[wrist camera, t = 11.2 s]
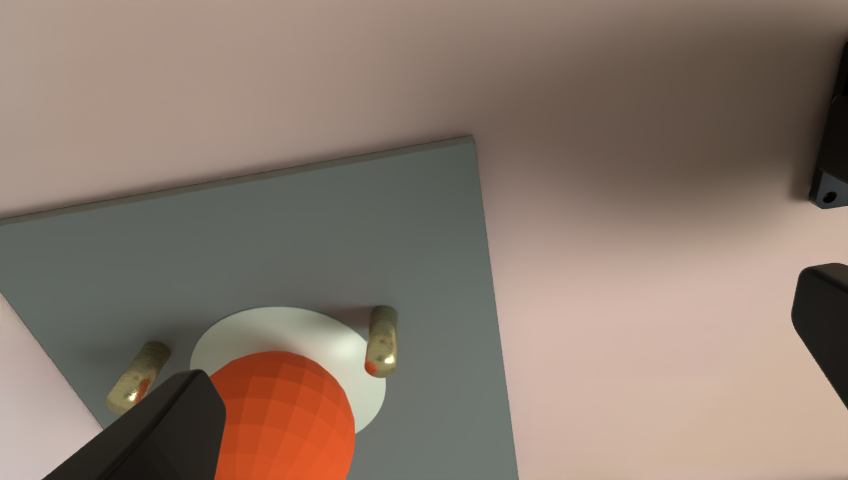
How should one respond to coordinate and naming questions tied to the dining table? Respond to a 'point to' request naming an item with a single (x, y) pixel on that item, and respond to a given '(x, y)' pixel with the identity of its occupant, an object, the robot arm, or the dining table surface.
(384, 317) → the brass pins
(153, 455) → the robot arm
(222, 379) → the clementine
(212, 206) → the nest plate
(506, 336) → the dining table surface
